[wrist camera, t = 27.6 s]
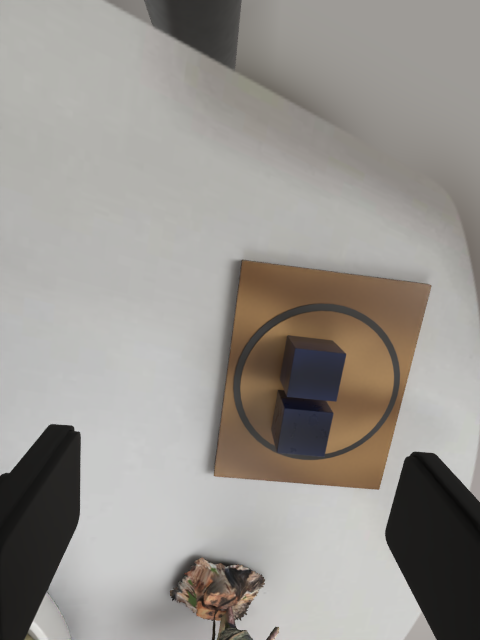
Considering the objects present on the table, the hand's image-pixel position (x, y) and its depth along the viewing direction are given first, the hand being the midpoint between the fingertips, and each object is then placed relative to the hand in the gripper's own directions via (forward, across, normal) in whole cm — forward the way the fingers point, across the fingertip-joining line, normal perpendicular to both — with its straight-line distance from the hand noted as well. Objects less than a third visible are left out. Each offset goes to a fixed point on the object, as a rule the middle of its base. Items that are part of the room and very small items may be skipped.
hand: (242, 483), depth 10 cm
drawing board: (+21, -9, +6) cm, 24 cm away
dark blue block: (+20, -7, +9) cm, 23 cm away
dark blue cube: (+20, -7, +4) cm, 22 cm away
